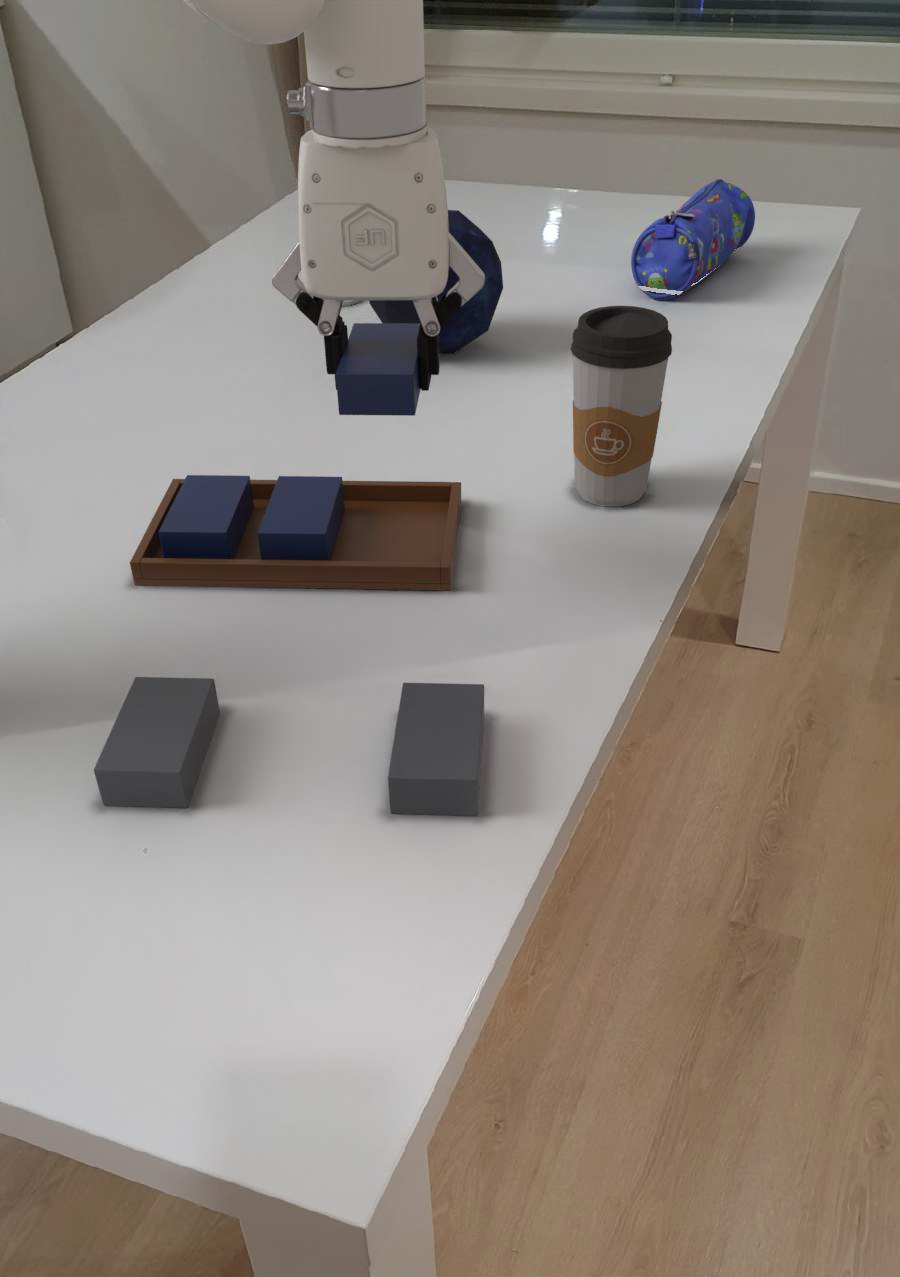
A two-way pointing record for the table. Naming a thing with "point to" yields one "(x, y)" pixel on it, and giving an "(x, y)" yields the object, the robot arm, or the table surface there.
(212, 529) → the navy book
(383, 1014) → the table surface
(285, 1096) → the table surface
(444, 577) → the book tray
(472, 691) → the grey book
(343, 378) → the navy book
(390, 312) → the decorative orb
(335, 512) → the navy book
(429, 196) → the robot arm
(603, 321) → the coffee cup
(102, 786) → the grey book
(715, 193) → the pencil case
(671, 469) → the table surface
